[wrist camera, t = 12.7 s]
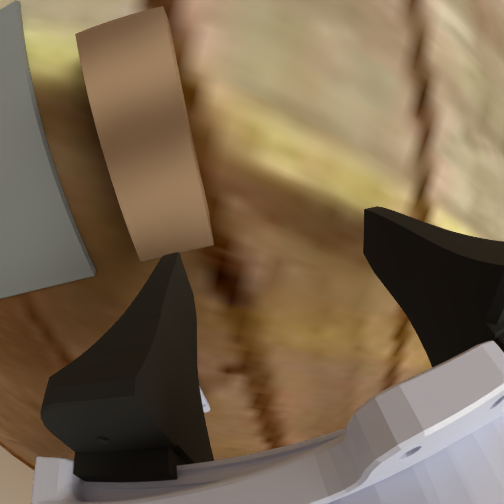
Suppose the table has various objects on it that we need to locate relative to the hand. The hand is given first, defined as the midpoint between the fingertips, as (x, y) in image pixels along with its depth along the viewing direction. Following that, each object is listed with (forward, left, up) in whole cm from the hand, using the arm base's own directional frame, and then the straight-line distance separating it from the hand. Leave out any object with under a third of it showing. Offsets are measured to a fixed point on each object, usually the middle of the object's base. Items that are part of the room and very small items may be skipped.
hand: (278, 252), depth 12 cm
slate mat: (+6, +21, -9) cm, 24 cm away
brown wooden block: (+4, +4, -10) cm, 11 cm away
